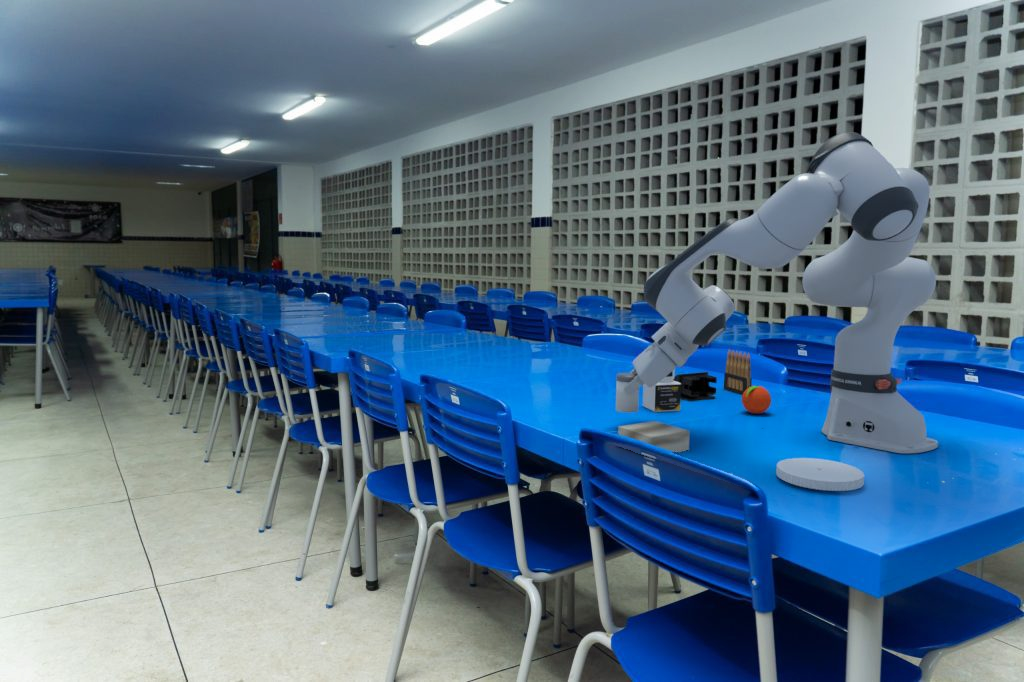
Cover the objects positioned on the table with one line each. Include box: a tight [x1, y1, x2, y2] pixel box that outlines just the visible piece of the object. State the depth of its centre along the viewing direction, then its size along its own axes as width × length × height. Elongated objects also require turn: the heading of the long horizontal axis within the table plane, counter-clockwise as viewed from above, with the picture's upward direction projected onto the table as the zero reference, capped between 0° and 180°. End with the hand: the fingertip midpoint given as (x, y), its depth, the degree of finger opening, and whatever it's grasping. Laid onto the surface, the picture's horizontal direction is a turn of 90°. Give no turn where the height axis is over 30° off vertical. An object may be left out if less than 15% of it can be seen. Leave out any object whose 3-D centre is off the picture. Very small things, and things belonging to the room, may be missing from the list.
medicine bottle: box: [642, 368, 682, 413], centre depth 184 cm, size 7×7×12 cm
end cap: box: [673, 371, 718, 402], centre depth 198 cm, size 10×7×7 cm
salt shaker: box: [615, 372, 640, 414], centre depth 162 cm, size 5×5×8 cm
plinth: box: [617, 420, 690, 454], centre depth 147 cm, size 10×10×4 cm
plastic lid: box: [775, 457, 865, 492], centre depth 126 cm, size 14×14×2 cm
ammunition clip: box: [723, 348, 753, 396], centre depth 206 cm, size 11×2×12 cm, turn 18°
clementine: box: [741, 385, 772, 415], centre depth 179 cm, size 8×7×7 cm
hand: (624, 388), depth 162 cm, fingers closed on salt shaker, 5 cm apart
